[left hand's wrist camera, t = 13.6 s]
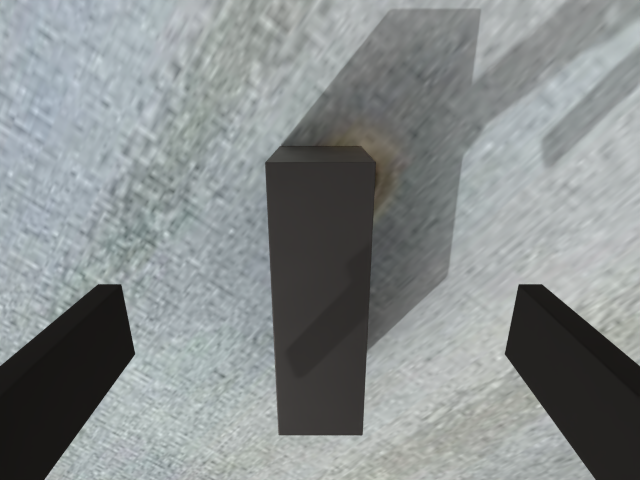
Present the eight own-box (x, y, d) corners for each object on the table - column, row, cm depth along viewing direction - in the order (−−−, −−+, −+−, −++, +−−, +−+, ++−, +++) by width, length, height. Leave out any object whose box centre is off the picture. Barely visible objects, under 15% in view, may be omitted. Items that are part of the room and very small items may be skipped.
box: (279, 146, 33) (265, 162, 25) (361, 146, 33) (375, 162, 25) (287, 364, 41) (278, 435, 32) (353, 364, 41) (362, 435, 32)
